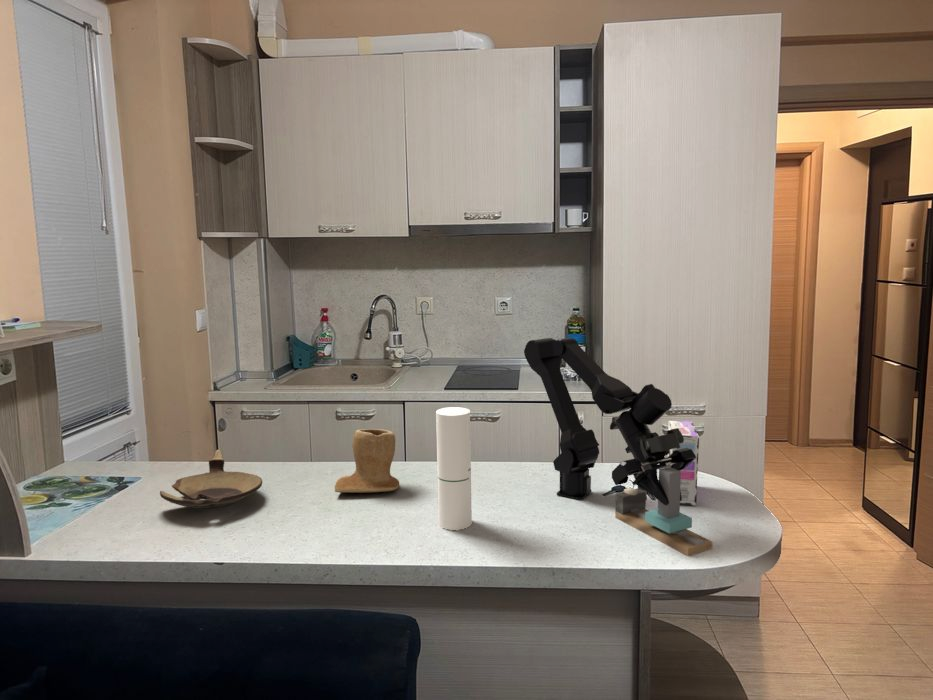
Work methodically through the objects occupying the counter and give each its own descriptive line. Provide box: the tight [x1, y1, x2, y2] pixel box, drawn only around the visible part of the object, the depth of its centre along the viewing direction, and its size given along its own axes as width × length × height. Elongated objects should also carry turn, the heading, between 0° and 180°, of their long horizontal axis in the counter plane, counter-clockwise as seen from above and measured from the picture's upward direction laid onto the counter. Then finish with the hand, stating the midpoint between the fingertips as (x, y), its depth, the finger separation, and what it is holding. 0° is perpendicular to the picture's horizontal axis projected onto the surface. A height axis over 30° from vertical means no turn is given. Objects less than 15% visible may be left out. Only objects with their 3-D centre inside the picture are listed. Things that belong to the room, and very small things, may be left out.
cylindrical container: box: [435, 406, 473, 531], centre depth 152 cm, size 7×7×25 cm
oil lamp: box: [159, 449, 263, 509], centre depth 170 cm, size 22×30×8 cm
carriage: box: [645, 467, 693, 534], centre depth 145 cm, size 7×6×12 cm
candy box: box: [667, 420, 700, 507], centre depth 167 cm, size 14×6×16 cm, turn 168°
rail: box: [614, 487, 713, 557], centre depth 147 cm, size 22×6×6 cm, turn 28°
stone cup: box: [334, 428, 400, 494], centre depth 174 cm, size 15×12×15 cm
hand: (673, 502), depth 144 cm, fingers closed on carriage, 3 cm apart
